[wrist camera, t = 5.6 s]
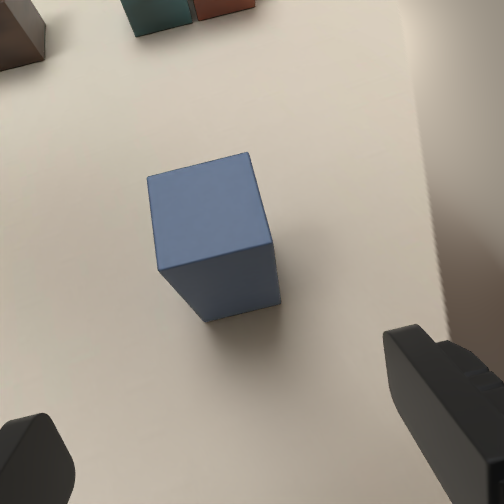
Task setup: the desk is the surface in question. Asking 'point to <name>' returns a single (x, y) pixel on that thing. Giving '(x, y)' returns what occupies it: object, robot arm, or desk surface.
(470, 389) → the robot arm
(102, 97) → the desk surface
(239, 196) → the blue block
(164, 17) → the block row
